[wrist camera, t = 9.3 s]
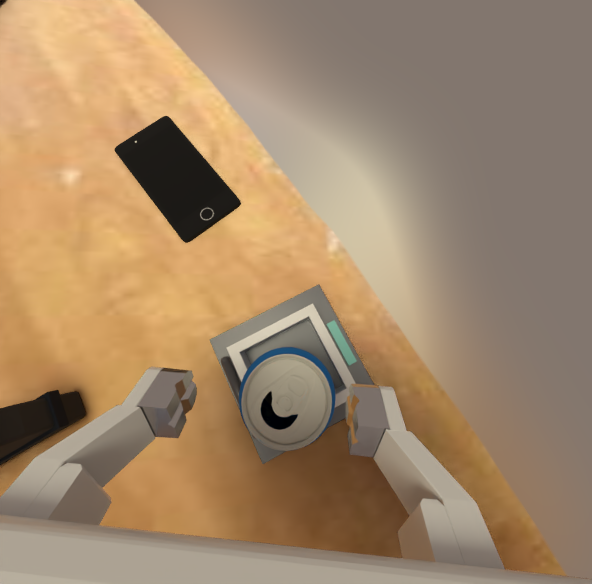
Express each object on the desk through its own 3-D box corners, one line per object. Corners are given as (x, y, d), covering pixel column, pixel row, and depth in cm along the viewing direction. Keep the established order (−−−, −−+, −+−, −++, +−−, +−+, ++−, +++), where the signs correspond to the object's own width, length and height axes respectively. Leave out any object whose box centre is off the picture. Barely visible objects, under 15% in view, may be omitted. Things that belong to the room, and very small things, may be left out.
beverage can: (247, 382, 27) (212, 409, 15) (285, 335, 28) (279, 326, 16) (293, 423, 26) (294, 484, 15) (331, 372, 27) (359, 392, 16)
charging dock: (379, 396, 28) (389, 402, 24) (263, 460, 26) (258, 476, 23) (318, 286, 30) (320, 278, 27) (211, 340, 29) (200, 339, 26)
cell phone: (187, 245, 32) (184, 242, 31) (117, 153, 35) (112, 148, 35) (242, 205, 33) (241, 201, 32) (169, 119, 37) (166, 113, 36)
